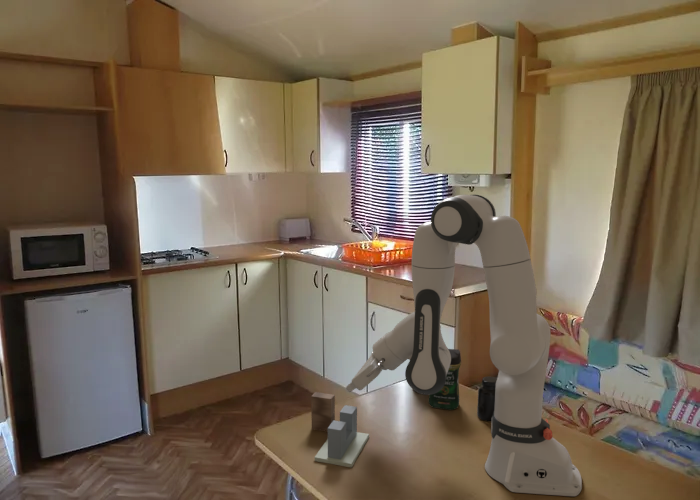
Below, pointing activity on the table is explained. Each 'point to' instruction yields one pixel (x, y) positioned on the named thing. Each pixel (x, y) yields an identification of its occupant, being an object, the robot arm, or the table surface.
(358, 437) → the notched receiver
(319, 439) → the table surface
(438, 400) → the coffee jar
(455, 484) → the table surface
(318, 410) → the walnut slat
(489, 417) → the supplement bottle
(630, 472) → the table surface
